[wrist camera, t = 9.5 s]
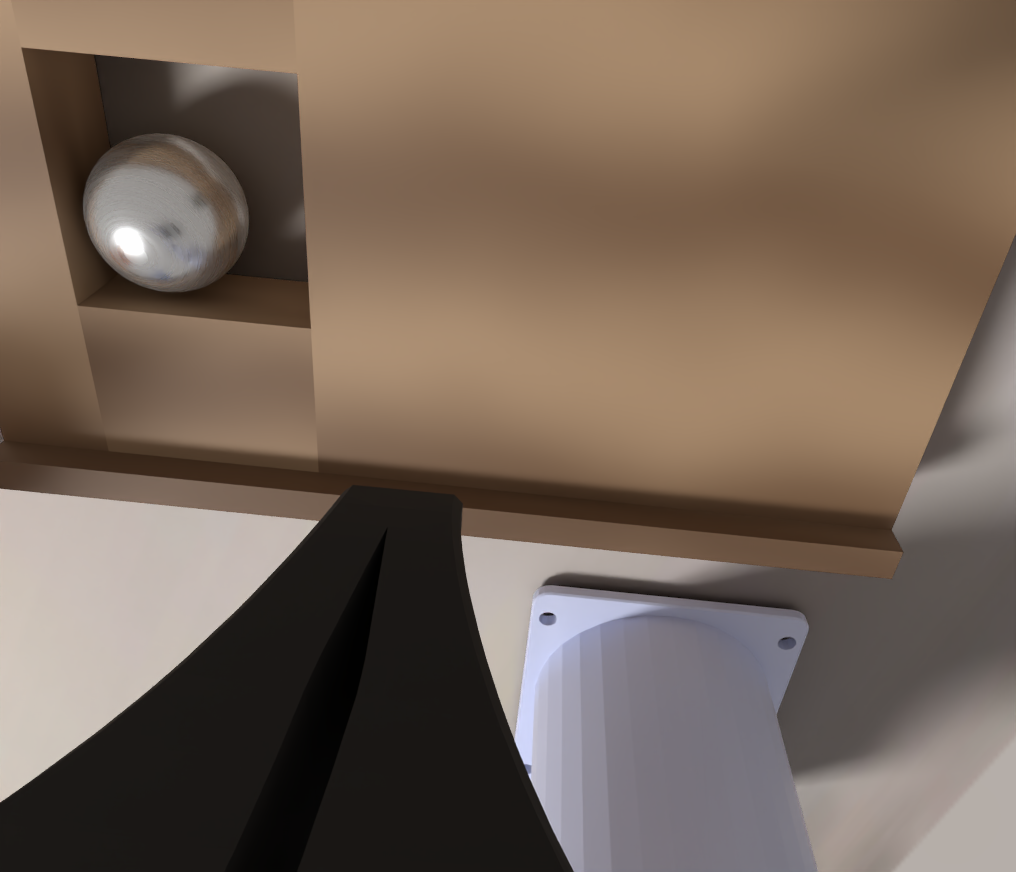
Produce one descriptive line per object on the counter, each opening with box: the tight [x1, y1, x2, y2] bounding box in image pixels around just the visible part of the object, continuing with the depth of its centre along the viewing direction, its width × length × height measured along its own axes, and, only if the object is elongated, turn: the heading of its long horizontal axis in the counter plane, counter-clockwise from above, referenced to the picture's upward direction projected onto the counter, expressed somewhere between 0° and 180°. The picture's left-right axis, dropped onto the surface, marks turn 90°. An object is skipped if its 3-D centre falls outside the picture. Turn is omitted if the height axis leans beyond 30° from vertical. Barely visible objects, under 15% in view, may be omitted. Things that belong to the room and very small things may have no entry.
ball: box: [83, 133, 249, 292], centre depth 17 cm, size 3×3×3 cm
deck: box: [0, 0, 1016, 579], centre depth 17 cm, size 14×21×3 cm, turn 85°
